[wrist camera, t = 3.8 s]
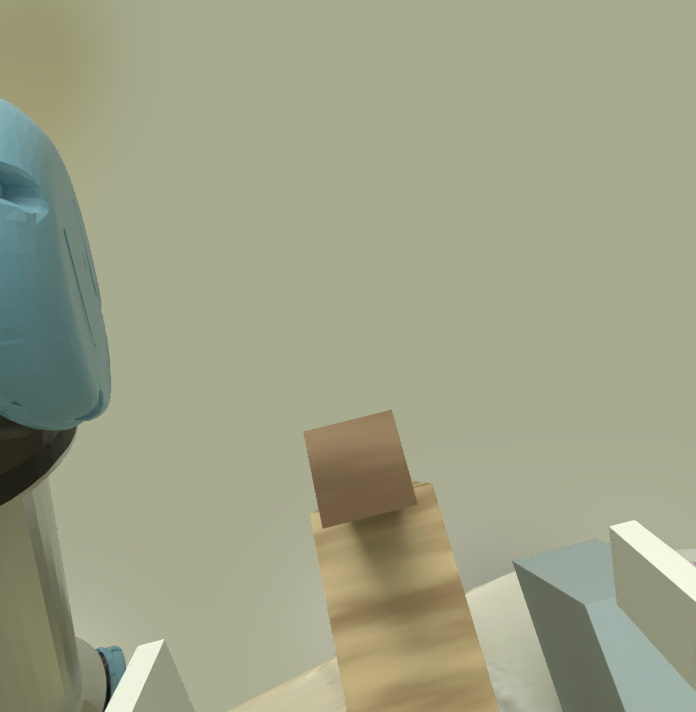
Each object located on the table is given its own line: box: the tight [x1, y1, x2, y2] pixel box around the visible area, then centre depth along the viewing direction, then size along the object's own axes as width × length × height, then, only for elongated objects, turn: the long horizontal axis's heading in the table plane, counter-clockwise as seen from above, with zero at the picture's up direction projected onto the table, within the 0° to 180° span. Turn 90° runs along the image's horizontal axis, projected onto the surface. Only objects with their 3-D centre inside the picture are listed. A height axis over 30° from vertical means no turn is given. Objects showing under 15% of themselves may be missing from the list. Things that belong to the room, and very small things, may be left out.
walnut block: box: [304, 410, 418, 529], centre depth 30 cm, size 30×4×4 cm, turn 176°
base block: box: [512, 540, 696, 712], centre depth 29 cm, size 14×9×20 cm, turn 176°
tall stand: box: [310, 481, 499, 712], centre depth 30 cm, size 18×9×30 cm, turn 176°
